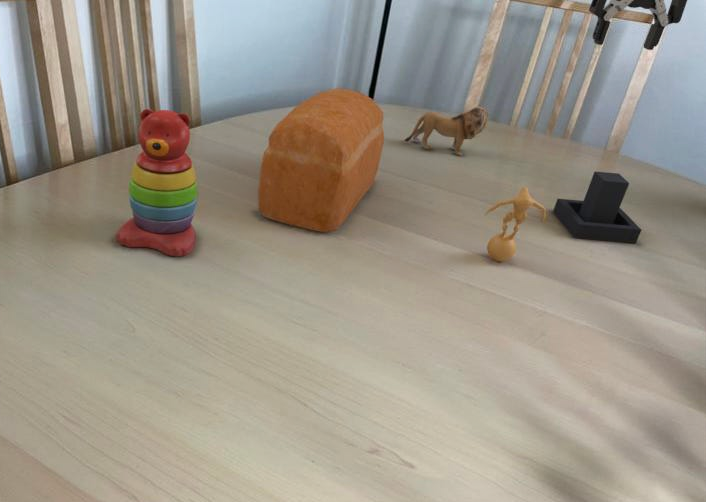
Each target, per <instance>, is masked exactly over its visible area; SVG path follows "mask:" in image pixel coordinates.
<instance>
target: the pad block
mask: <svg viewBox="0 0 706 502" xmlns="http://www.w3.org/2000/svg"><path fill="white" fill-rule="evenodd" d="M629 186H630V182H629V181H628V180H627V179H626V178H625V177H623V176H622V175H621V174H620V173H618V172H617V173H616V172H607V171H606V172H605V171H597V170H596V171H594V172H593V175H592V177H591V180H590V183H589V184H588V188H587V191H586V193H585V195H584V198H583V200H582V201H583V204H582V206H581V209H580V212H579V214H578V216H579V217H580V218H581V219H582V220H583V221H584V222H592V223H603V224H613V222H614V220H615V217H616V215H617V212H618V210H619V208H621V205H622V202H623V200H624V197H625V196H626V193H627V190H628V187H629Z"/></svg>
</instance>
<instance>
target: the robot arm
mask: <svg viewBox="0 0 706 502" xmlns="http://www.w3.org/2000/svg"><path fill="white" fill-rule="evenodd" d="M607 1H608V0H591V3H590V6H589V8H588V12H589V13H591V14H593V15H594V16H596V17H597V21H596V24H595V27H594V29H593V32H592V40H593V43H594V44H596V45H597V46H602V45H604V43H605V40H606V36H607V34H608V31H609V28H610V26H611V21H610V20H612V19H613V17H614V16H616V15H617V14H618V13H619V12H622V11H624V9H626V8H627V7H628V8H632V9H637V8H642V9H644V10H649V12H650V13H651V15H652V18H653V21H654V23H651V24H650V27H649V30H648V32H647V35H646V38H645V41H644V43H643V49H646V50H648V51H653V49H655V48H656V47H657V46H658V45H659V43H660V40H661V37H662V36H663V33H664V30H665V28H666V27H667V26H668V25H672V24H679V23H680V22H681V21H682V17H683V14H684V12H685V8H686V5H687V3H688V0H671V2H670V5H669V8H668V11H667V6H666V3H665V0H609V2H608V3H607ZM606 3H607V5H606Z"/></svg>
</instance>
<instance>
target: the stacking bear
mask: <svg viewBox="0 0 706 502" xmlns="http://www.w3.org/2000/svg"><path fill="white" fill-rule="evenodd" d="M139 116H140V120H141V123H140V126H139V130H138V141H139V144H140V147H141V149H142V152H140V154H139V155H137V157H136V160H135V161H134V163H133V167H132V171H131V177H130V180H129V187H128V193H129V194H128V198H129V204H130V209H131V211H132V218H130V219H129V220H127V221H126V222H125V223H123V225H121V226H120V227H119V229H118V230H117V232H116V237H115V239H116V241H117V242H118V244H120V245H121V246H125V247H128V248H150V249H154V250H158V251H160V252H161V253H163V254H164V255H167V256H172V257H184V256H187V255H189V254H190V253H192V250H193V249H194V247H195V245H196V231H195V228H194V226H193V224H192V222H193V220H194V216H195V211H196V208H197V203H198V195H199V192H198V191H199V190H198V182H197V179H196V171H195V167H194V165H193V162H192V158H190V156H189V154H188V153H186V151H187V149H188V146H189V143H190V137H191V132H190V124H191V119H190V116H189V115H188V114H187V113H185V112H179V113H178V112H175V111H172V110H167V109H161V110H160V109H159V110H156V111H155V110H152V109H150V108H145V109H143V110H142V111H141V112H140V115H139Z"/></svg>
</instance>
